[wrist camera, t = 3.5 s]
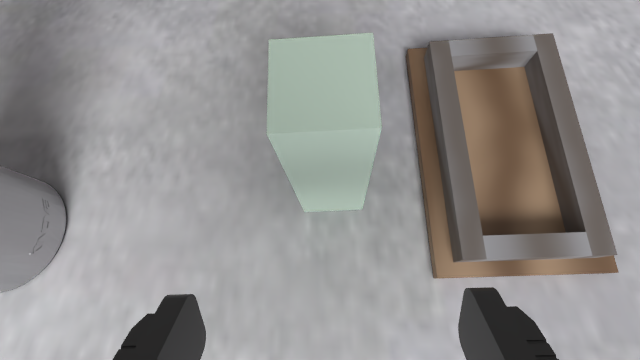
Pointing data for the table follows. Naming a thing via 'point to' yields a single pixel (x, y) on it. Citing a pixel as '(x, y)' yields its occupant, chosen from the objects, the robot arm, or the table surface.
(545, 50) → the track
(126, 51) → the table surface
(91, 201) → the table surface
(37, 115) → the table surface
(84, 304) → the table surface
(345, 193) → the pale green angular block
